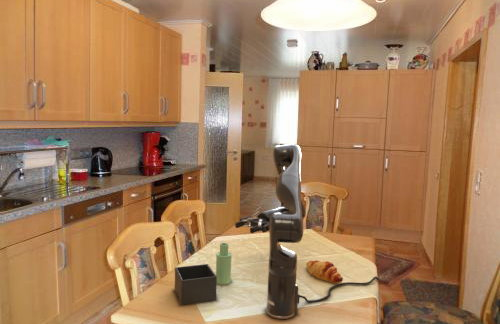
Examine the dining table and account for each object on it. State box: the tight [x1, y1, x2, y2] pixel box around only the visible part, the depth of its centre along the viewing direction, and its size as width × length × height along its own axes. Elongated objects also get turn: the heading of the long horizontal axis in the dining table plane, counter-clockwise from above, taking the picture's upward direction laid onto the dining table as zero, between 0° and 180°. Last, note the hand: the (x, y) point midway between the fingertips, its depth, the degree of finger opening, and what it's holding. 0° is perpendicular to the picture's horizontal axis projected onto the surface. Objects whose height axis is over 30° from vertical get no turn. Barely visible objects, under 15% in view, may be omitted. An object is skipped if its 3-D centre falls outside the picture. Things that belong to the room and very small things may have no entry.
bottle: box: [215, 242, 232, 286], centre depth 150 cm, size 6×6×15 cm
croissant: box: [305, 259, 344, 284], centre depth 159 cm, size 21×10×8 cm, turn 32°
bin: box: [174, 263, 217, 306], centre depth 138 cm, size 12×12×9 cm
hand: (243, 228), depth 155 cm, fingers open, 8 cm apart
